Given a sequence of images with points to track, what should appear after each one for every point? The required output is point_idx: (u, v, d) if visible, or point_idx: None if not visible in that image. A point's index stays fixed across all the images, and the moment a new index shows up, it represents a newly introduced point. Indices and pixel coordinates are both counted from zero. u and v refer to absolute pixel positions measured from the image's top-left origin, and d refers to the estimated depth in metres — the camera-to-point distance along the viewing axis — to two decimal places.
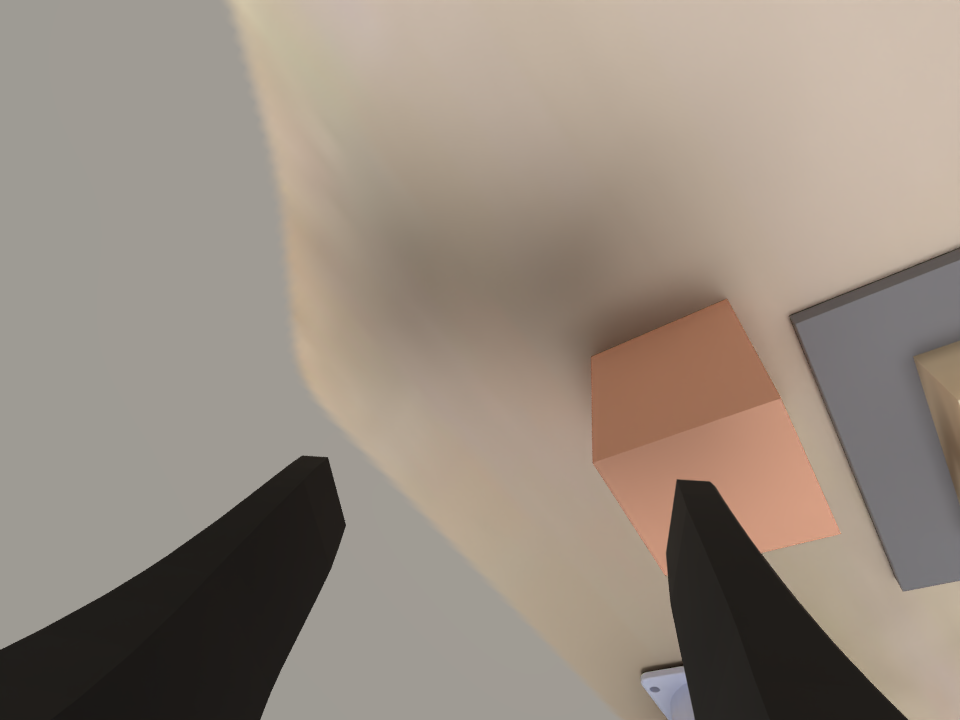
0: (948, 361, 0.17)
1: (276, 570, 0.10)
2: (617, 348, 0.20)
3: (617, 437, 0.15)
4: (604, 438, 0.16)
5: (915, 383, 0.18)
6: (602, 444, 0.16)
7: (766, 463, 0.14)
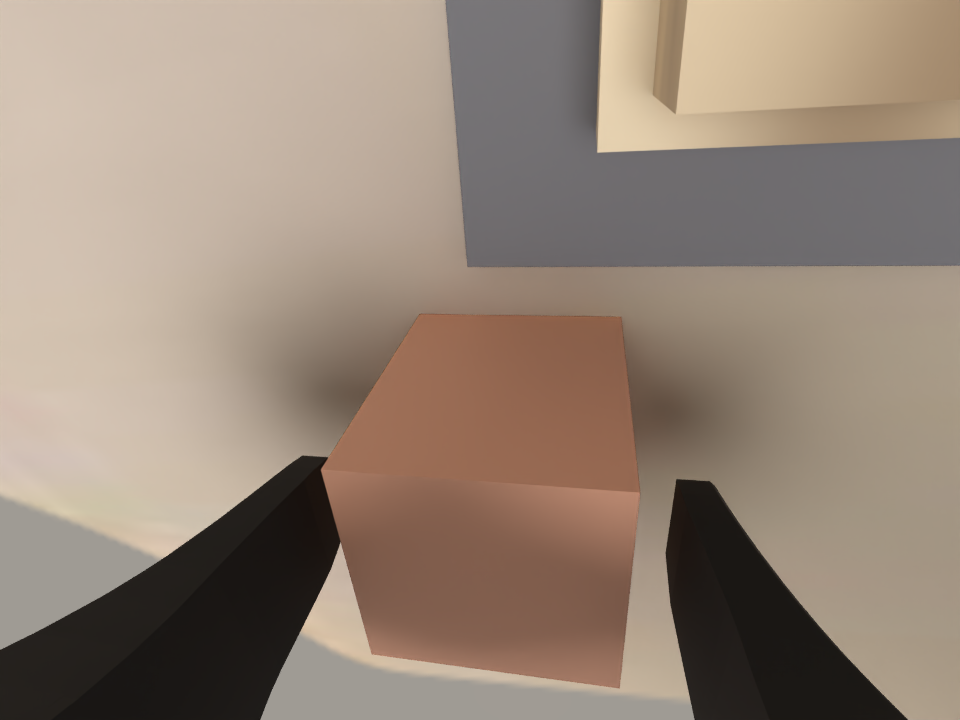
0: (597, 99, 0.09)
1: (276, 570, 0.10)
2: None
3: None
4: None
5: None
6: None
7: (436, 521, 0.09)
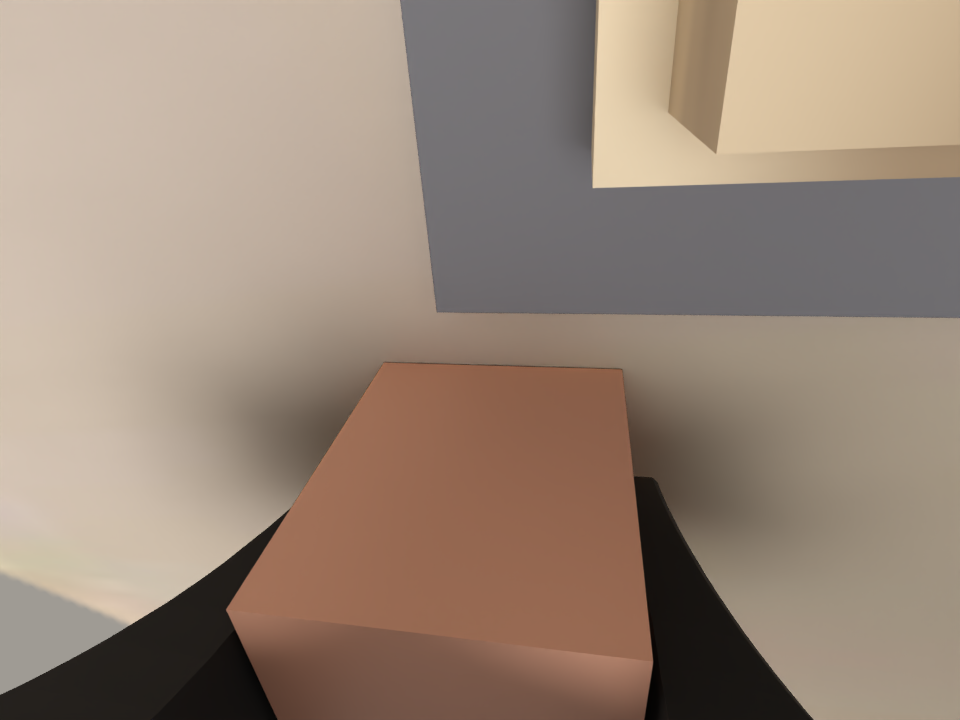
0: None
1: None
2: None
3: None
4: None
5: None
6: None
7: (382, 674, 0.07)
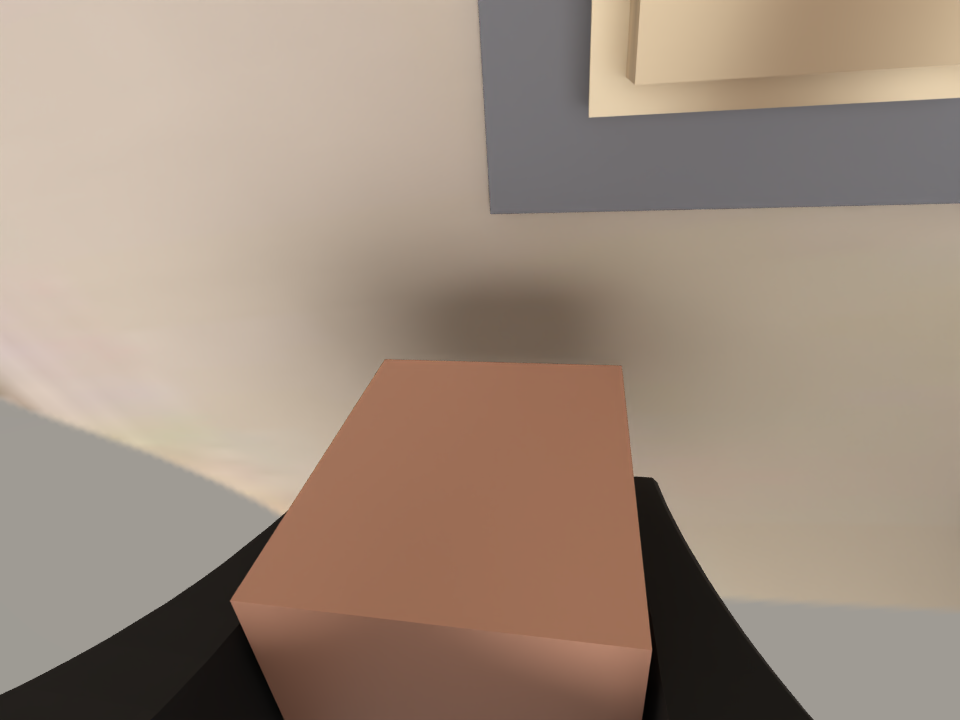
0: None
1: None
2: None
3: None
4: None
5: None
6: None
7: (384, 665, 0.07)
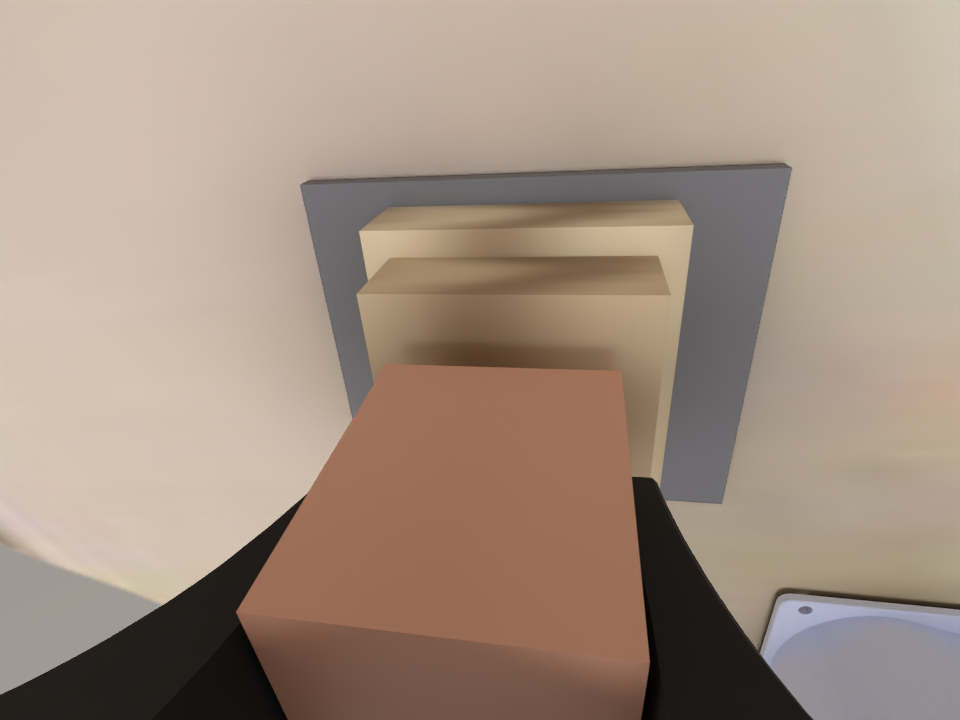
0: None
1: None
2: None
3: None
4: None
5: None
6: None
7: (388, 673, 0.07)
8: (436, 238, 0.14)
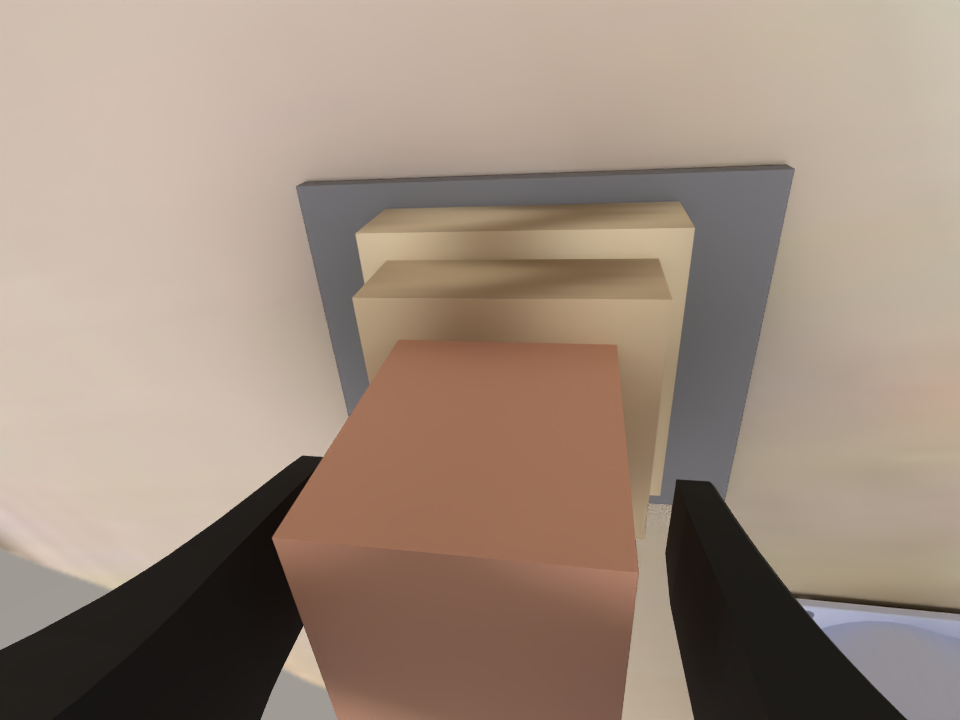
0: None
1: (276, 570, 0.10)
2: None
3: None
4: None
5: None
6: None
7: (406, 595, 0.08)
8: (434, 240, 0.14)
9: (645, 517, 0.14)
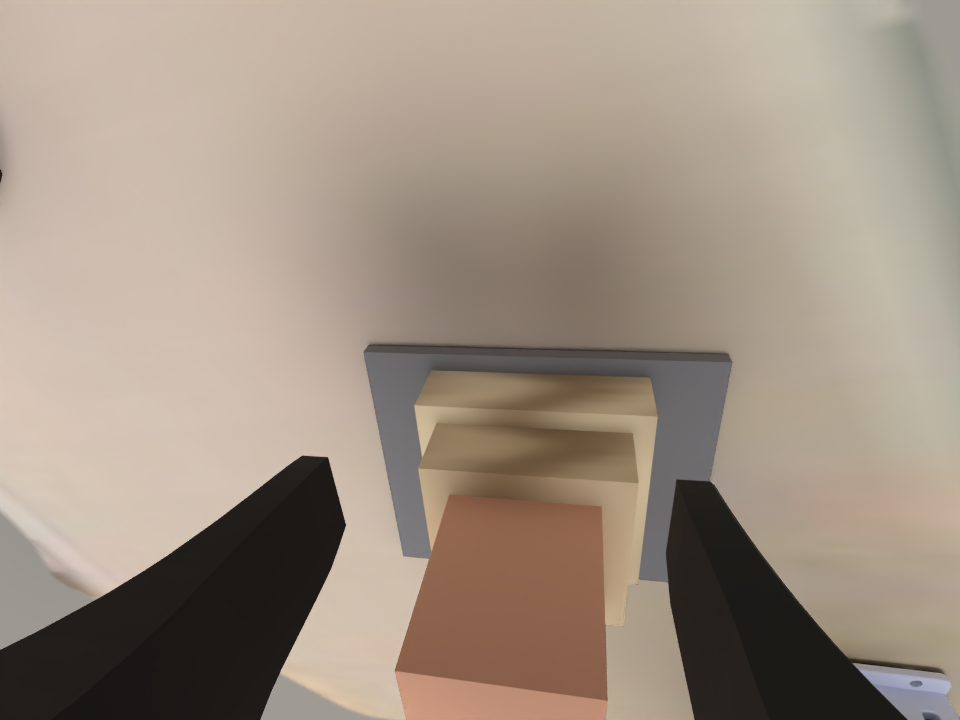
0: None
1: (277, 570, 0.10)
2: None
3: None
4: None
5: None
6: None
7: (472, 703, 0.13)
8: (471, 413, 0.19)
9: (624, 612, 0.20)
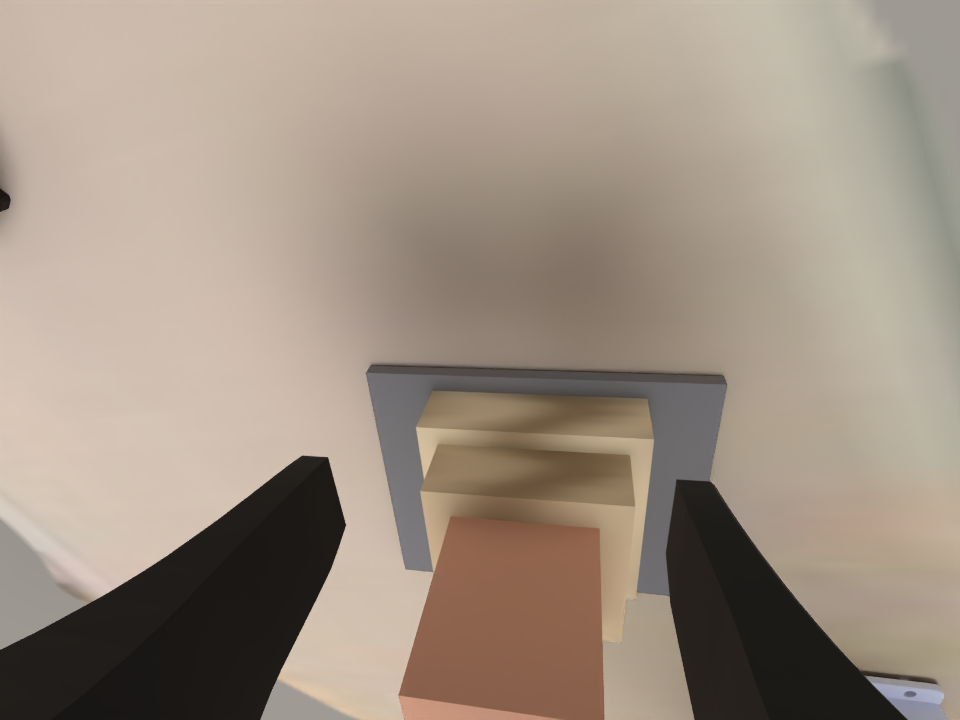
0: None
1: (276, 570, 0.10)
2: None
3: None
4: None
5: None
6: None
7: None
8: (472, 435, 0.20)
9: (621, 629, 0.20)
